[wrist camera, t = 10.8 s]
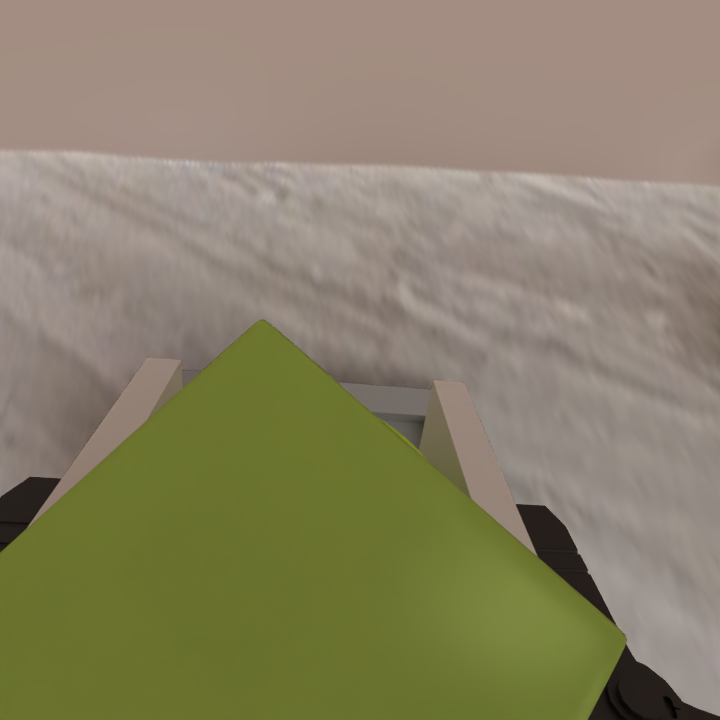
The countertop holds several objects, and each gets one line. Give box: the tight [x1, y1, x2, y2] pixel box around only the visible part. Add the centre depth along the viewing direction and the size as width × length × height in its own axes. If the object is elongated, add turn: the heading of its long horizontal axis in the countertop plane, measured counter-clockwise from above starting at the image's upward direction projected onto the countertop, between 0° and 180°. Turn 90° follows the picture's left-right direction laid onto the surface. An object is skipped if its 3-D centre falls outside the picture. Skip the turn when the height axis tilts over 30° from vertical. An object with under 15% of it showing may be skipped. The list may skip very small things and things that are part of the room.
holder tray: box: [182, 370, 431, 450], centre depth 22 cm, size 14×14×3 cm
